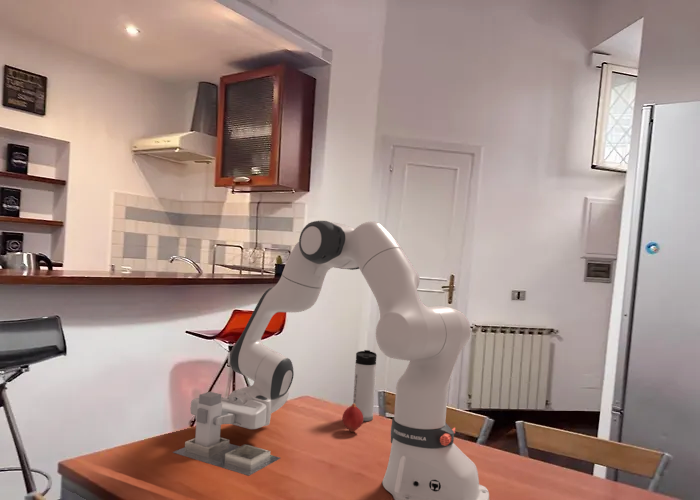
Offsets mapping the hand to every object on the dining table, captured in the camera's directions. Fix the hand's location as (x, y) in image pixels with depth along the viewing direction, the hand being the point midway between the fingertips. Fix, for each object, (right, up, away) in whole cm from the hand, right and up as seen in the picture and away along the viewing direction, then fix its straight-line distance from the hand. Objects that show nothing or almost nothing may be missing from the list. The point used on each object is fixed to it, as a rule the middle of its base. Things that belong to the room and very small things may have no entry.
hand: (206, 419), depth 126 cm
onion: (+34, -11, +22) cm, 42 cm away
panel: (+5, -9, -2) cm, 10 cm away
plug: (0, -7, +1) cm, 7 cm away
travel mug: (+38, -11, +35) cm, 53 cm away
